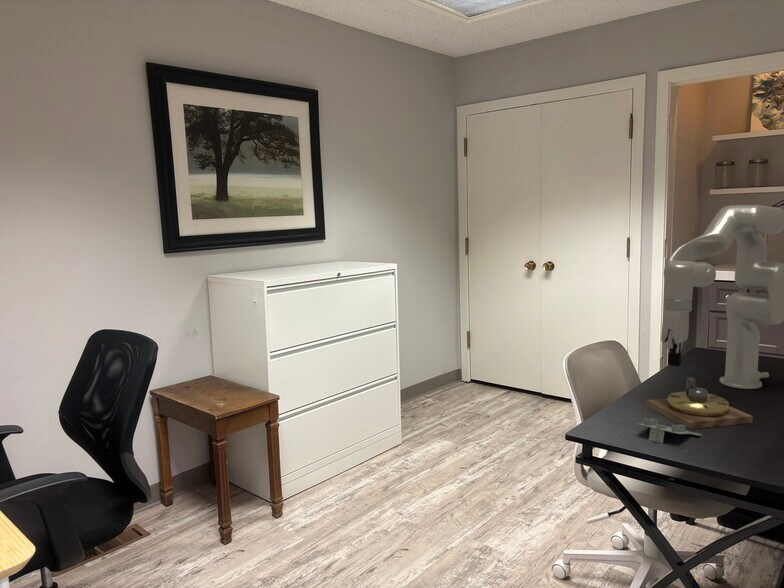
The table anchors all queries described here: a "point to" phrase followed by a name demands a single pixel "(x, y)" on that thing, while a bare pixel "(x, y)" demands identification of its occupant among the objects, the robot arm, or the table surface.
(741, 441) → the table surface
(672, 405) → the rotary dial
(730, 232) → the robot arm
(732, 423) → the base plate
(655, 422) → the metal bracket
